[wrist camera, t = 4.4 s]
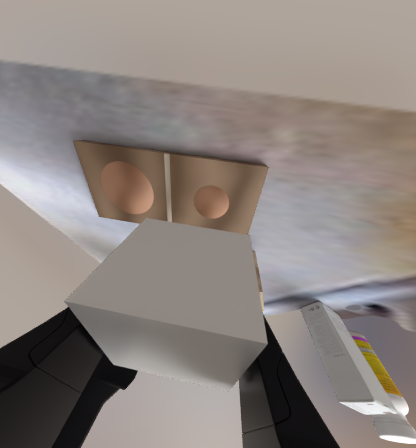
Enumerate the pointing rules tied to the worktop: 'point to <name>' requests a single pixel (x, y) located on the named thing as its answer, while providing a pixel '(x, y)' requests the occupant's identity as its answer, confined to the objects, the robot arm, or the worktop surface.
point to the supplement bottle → (389, 423)
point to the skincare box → (345, 362)
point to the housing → (176, 304)
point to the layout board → (171, 186)
